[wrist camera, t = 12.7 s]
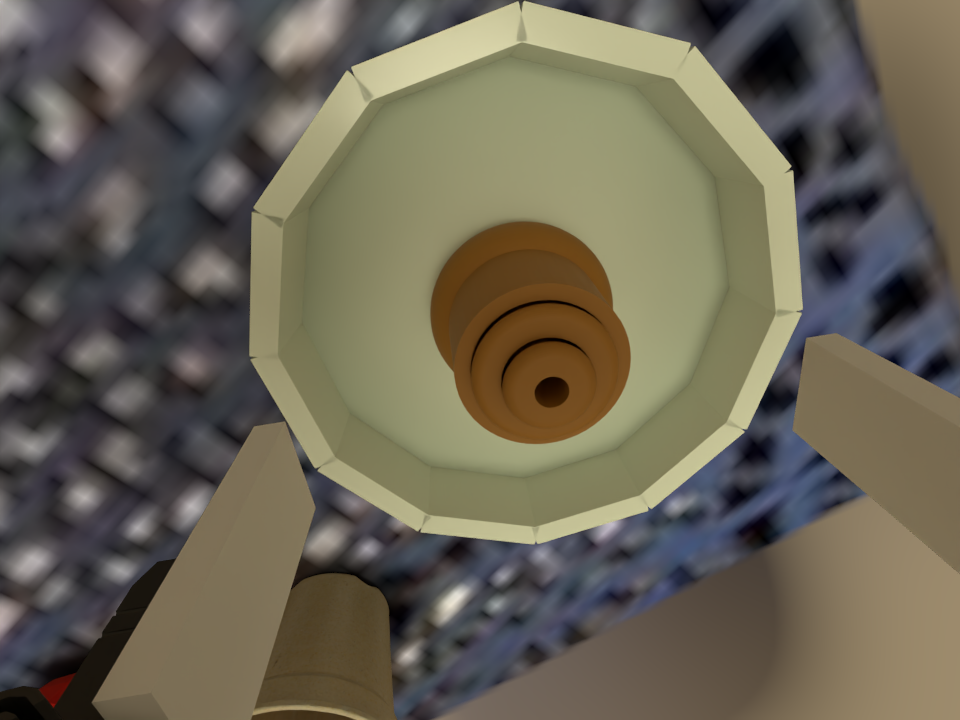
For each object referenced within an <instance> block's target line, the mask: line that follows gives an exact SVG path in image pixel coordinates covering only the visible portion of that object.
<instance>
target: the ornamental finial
mask: <svg viewBox="0 0 960 720" xmlns="http://www.w3.org/2000/svg"><path fill="white" fill-rule="evenodd" d="M430 319H431V328H432V333H433V337H434V340H435V343H436V345H437V348H438V350H439V352H440V354H441V356H442V357H443V359H444V361H445V362H446V363H447V365H448V366H449V367H450V369H451V370H452V371H453V372H454V378H455V384H456V388H457V391H458V395H459V397H460V399H461V401H462V404H463V405H464V407H465V408H466V410H467V412H468V413H469V414H470V415H471V416H472V418H473V419H474V420H475V421H476V422H477V423H478V424H480V425H481V426H482V427H483V428H485V429H486V430H488V431H489V432H491V433H493V434H495V435H497V436H499V437H501V438H504V439H506V440H510V441H514V442H518V443H525V444H547V443H553V442H558V441H562V440H565V439H568V438H571V437H573V436H576V435H578V434H580V433H582V432H584V431H586V430H587V429H589V428H590V427H592V426H594V425H595V424H596V423H597V422H599V421H600V420H601V419H602V418H603V417H604V416H605V415H606V414H607V413H608V412H609V411H610V410H611V409H612V407H613V406H614V405H615V404H616V402H617V401H618V399H619V397H620V396H621V394H622V392H623V390H624V388H625V385H626V382H627V379H628V376H629V371H630V363H631V351H630V344H629V339H628V336H627V333H626V330H625V328H624V326H623V324H622V322H621V320H620V319H619V318H618V316H617V315H616V313H615V312H614V311H613V298H612V291H611V286H610V283H609V280H608V277H607V275H606V272H605V270H604V268H603V266H602V264H601V263H600V261H599V260H598V258H597V257H596V255H595V254H594V253H593V252H592V251H591V250H590V249H589V248H588V247H587V246H586V245H585V244H584V243H583V242H582V241H581V240H579V239H578V238H577V237H575V236H574V235H572V234H570V233H568V232H567V231H564V230H562V229H560V228H558V227H555V226H552V225H548V224H544V223H539V222H527V221H523V222H511V223H506V224H501V225H498V226H494V227H492V228H489V229H487V230H485V231H482V232H480V233H479V234H477V235H475V236H474V237H472V238H471V239H469V240H468V241H466V242H465V243H464V244H463V245H462V246H460V247H459V248H458V249H457V250H456V251H455V252H454V253H453V255H452V256H451V257H450V258H449V260H448V261H447V262H446V264H445V265H444V267H443V269H442V270H441V272H440V274H439V276H438V279H437V281H436V284H435V287H434V290H433V294H432V299H431V307H430Z"/></svg>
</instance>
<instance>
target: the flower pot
mask: <svg viewBox="0 0 960 720" xmlns="http://www.w3.org/2000/svg"><path fill="white" fill-rule="evenodd" d="M251 720H397V718H396V716H395V714H394V706H393V689H392V672H391V653H390V628H389V608H388V604H387V601H386V599H385V597H384V596H383V594H382V593H381V591H380V590H379V589H378V588H376V587H371V586H369V585H367V584H365V583H364V582H363V581H361V580H360V579H359V578H358V577H356V576H354V575H349V574H341V573H327V574H320V575H315V576H312V577H309V578H306V579H304V580H302V581H301V582H300V583H298V584H297V585H296V586H295V587H294V588H293V589H292V590H291V591H290V593H289V597H288V600H287V603H286V607H285V610H284V613H283V616H282V620H281V623H280V626H279V629H278V633H277V636H276V639H275V643H274V646H273V649H272V652H271V656H270V659H269V662H268V665H267V669H266V672H265V675H264V679H263V682H262V685H261V688H260V692H259V695H258V698H257V702H256V705H255V708H254V711H253V715H252V718H251Z"/></svg>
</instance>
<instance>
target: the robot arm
mask: <svg viewBox="0 0 960 720" xmlns="http://www.w3.org/2000/svg"><path fill="white" fill-rule="evenodd" d="M793 431H794V432H795V433H796V434H798V435H799V436H800V437H801V438H802V439H803V440H805V441H806V442H807V443H808V444H809V445H810V446H812V447H813V448H814V449H815V450H816V451H817V452H819V453H820V454H821V455H822V456H823V457H824V458H825V459H827V460H828V461H829V462H830V463H831V464H832V465H834V466H835V467H836V468H837V469H838V470H839V471H841V472H842V473H843V474H844V475H845V476H846V477H848V478H849V479H850V480H851V481H852V482H853V483H855V484H856V485H857V486H858V487H859V488H860V489H862V490H863V491H864V492H865V493H866V494H867V495H869V496H870V497H871V498H872V499H873V500H874V501H875V502H877V503H878V504H879V505H880V506H881V507H882V508H884V509H885V510H886V511H887V512H888V513H890V514H891V515H892V516H893V517H894V518H895V519H896V520H898V521H899V522H900V523H901V524H902V525H903V526H905V527H906V528H907V529H908V530H909V531H910V532H912V533H913V534H914V535H915V536H916V537H917V538H919V539H920V540H921V541H922V542H923V543H924V544H926V545H927V546H928V547H929V548H930V549H931V550H932V551H934V552H935V553H936V554H937V555H938V556H940V557H941V558H942V559H943V560H944V561H945V562H947V563H948V564H949V565H950V566H951V567H952V568H953V569H955V570H956V571H957V572H958V573H959V574H960V398H958V397H956V396H954V395H952V394H951V393H949V392H947V391H945V390H943V389H941V388H939V387H937V386H935V385H933V384H932V383H930V382H928V381H926V380H924V379H922V378H920V377H918V376H916V375H914V374H913V373H911V372H909V371H907V370H905V369H903V368H901V367H899V366H897V365H895V364H894V363H892V362H890V361H888V360H886V359H884V358H882V357H880V356H878V355H876V354H875V353H873V352H871V351H869V350H867V349H865V348H863V347H861V346H859V345H857V344H856V343H854V342H852V341H850V340H848V339H846V338H844V337H842V336H840V335H838V334H837V333H835V334H829V335H823V336H817V337H810V338H806V344H805V351H804V357H803V364H802V371H801V377H800V384H799V391H798V397H797V404H796V411H795V417H794V424H793ZM314 512H315V505H314V502H313V499H312V496H311V493H310V491H309V488H308V485H307V482H306V479H305V476H304V474H303V471H302V468H301V465H300V462H299V459H298V457H297V454H296V451H295V448H294V445H293V442H292V440H291V437H290V434H289V431H288V428H287V425H286V422H279V423H273V424H266V425H260V426H254V428H253V429H252V431H251V433H250V434H249V436H248V438H247V440H246V441H245V443H244V445H243V446H242V448H241V450H240V451H239V453H238V455H237V457H236V458H235V460H234V462H233V463H232V465H231V467H230V468H229V470H228V472H227V474H226V475H225V477H224V479H223V480H222V482H221V484H220V485H219V487H218V489H217V491H216V492H215V494H214V496H213V497H212V499H211V501H210V502H209V504H208V506H207V508H206V509H205V511H204V513H203V514H202V516H201V518H200V519H199V521H198V523H197V525H196V526H195V528H194V530H193V531H192V533H191V535H190V536H189V538H188V540H187V542H186V543H185V545H184V547H183V548H182V550H181V552H180V553H179V555H178V557H177V559H172V560H166V561H159V562H157V563H156V564H155V565H154V566H153V567H152V568H151V569H150V570H149V571H147V572H146V573H145V574H144V575H143V576H142V577H141V578H140V579H139V580H138V581H137V582H136V583H135V584H134V585H133V586H132V587H131V589H130V591H129V592H128V594H127V595H126V597H125V598H124V600H123V601H122V603H121V604H120V606H119V607H118V609H117V611H116V616H113V617H112V618H111V620H110V621H109V623H108V624H107V626H106V628H105V629H104V631H103V632H102V638H99V639H98V640H97V641H96V643H95V645H94V646H93V648H92V649H91V651H90V652H89V654H88V655H87V657H86V658H85V660H84V661H83V663H82V665H81V666H80V668H79V669H78V671H77V672H76V674H75V675H74V677H73V678H72V680H71V682H70V683H69V685H68V686H67V688H66V689H65V691H64V692H63V694H62V695H61V697H60V698H59V700H58V702H57V703H56V705H55V706H54V708H53V706H52V705H51V704H50V703H49V701H48V700H47V699H46V698H45V697H44V695H43V694H42V693H41V692H40V690H39V689H38V688H32V687H26V686H21V687H17V688H14V689H10V690H6V691H2V692H0V720H251V718H252V715H253V711H254V708H255V705H256V702H257V698H258V695H259V692H260V688H261V685H262V682H263V679H264V675H265V672H266V669H267V665H268V662H269V659H270V656H271V652H272V649H273V646H274V643H275V639H276V636H277V633H278V629H279V626H280V623H281V620H282V616H283V613H284V610H285V607H286V603H287V600H288V597H289V593H290V590H291V587H292V584H293V580H294V577H295V574H296V570H297V567H298V564H299V561H300V557H301V554H302V551H303V548H304V544H305V541H306V538H307V534H308V531H309V528H310V525H311V521H312V518H313V515H314Z"/></svg>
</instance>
